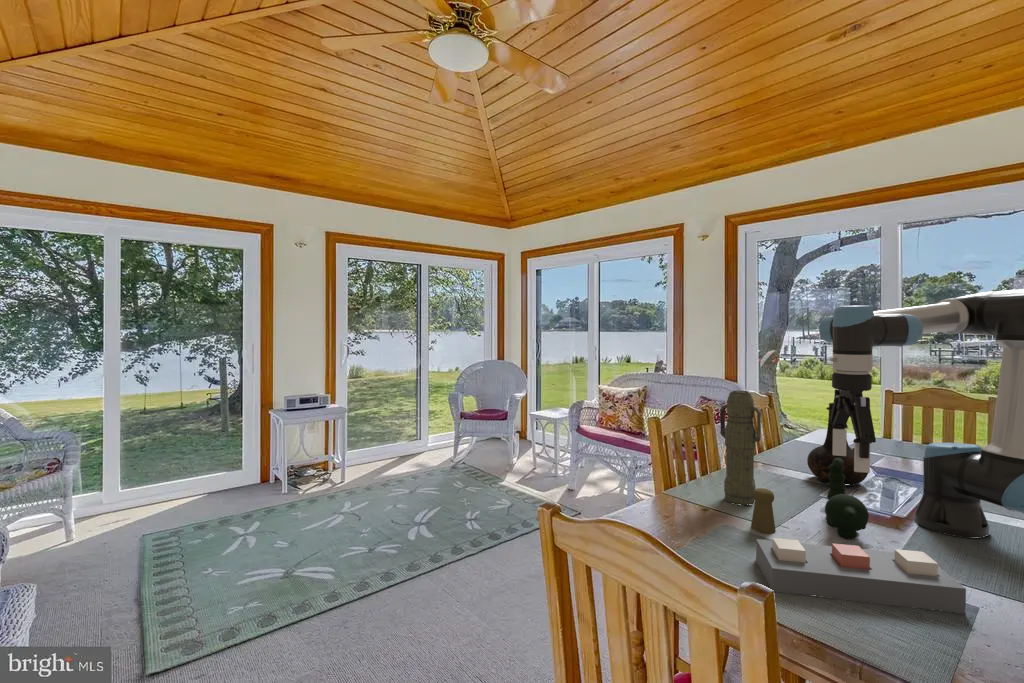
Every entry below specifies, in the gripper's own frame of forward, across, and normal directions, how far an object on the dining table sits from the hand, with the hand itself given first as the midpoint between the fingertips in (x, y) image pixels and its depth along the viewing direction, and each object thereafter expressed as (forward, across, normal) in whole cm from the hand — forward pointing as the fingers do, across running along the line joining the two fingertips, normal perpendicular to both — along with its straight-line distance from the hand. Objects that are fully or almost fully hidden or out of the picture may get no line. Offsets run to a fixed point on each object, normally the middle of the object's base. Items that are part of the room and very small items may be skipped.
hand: (849, 463), depth 112 cm
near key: (+20, +9, +9) cm, 24 cm away
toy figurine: (+24, -22, +6) cm, 33 cm away
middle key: (+20, +10, -3) cm, 23 cm away
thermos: (+24, -36, -18) cm, 47 cm away
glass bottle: (+24, -65, +18) cm, 72 cm away
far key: (+20, +10, -15) cm, 27 cm away
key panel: (+24, +10, -3) cm, 26 cm away
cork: (+24, -16, -15) cm, 32 cm away
